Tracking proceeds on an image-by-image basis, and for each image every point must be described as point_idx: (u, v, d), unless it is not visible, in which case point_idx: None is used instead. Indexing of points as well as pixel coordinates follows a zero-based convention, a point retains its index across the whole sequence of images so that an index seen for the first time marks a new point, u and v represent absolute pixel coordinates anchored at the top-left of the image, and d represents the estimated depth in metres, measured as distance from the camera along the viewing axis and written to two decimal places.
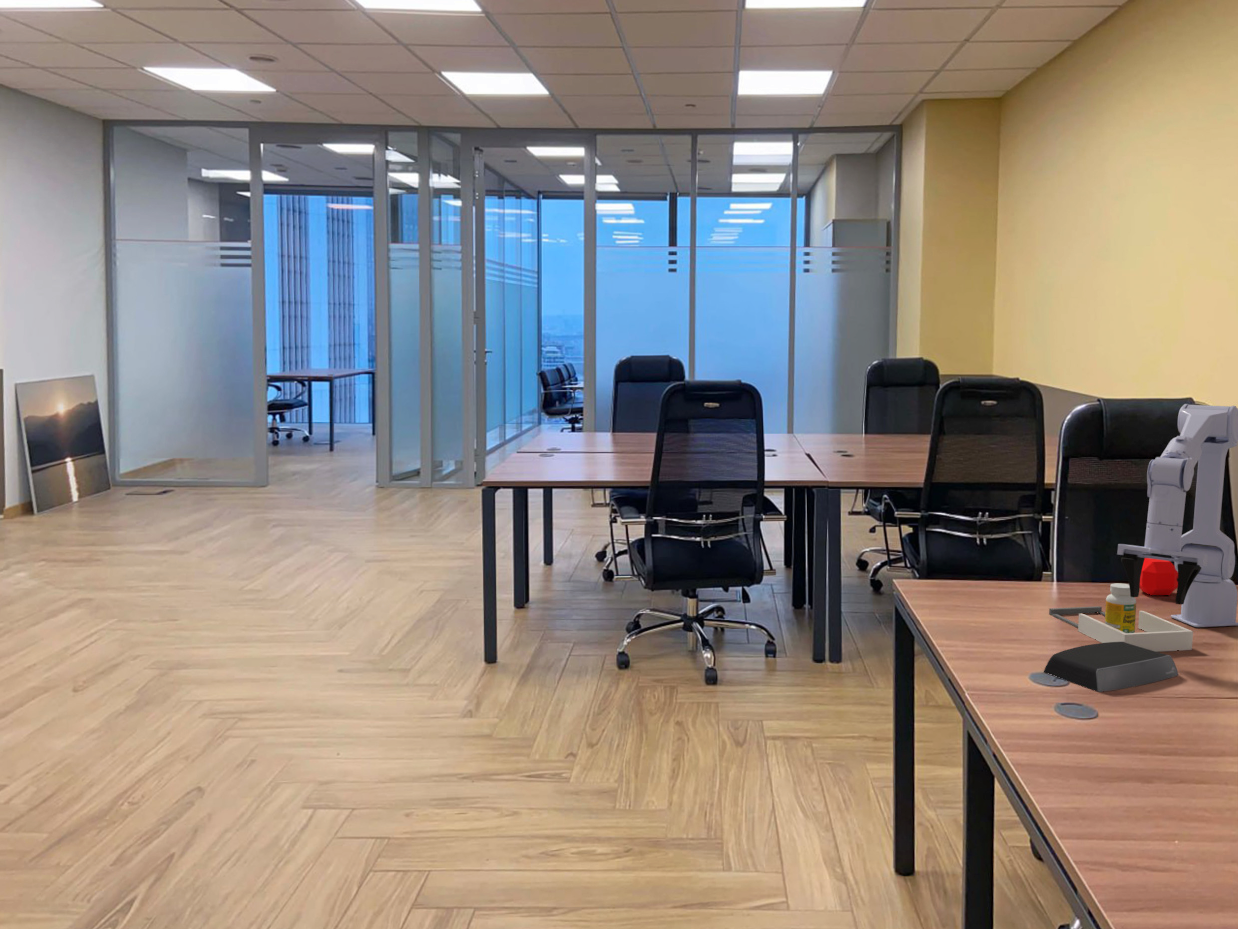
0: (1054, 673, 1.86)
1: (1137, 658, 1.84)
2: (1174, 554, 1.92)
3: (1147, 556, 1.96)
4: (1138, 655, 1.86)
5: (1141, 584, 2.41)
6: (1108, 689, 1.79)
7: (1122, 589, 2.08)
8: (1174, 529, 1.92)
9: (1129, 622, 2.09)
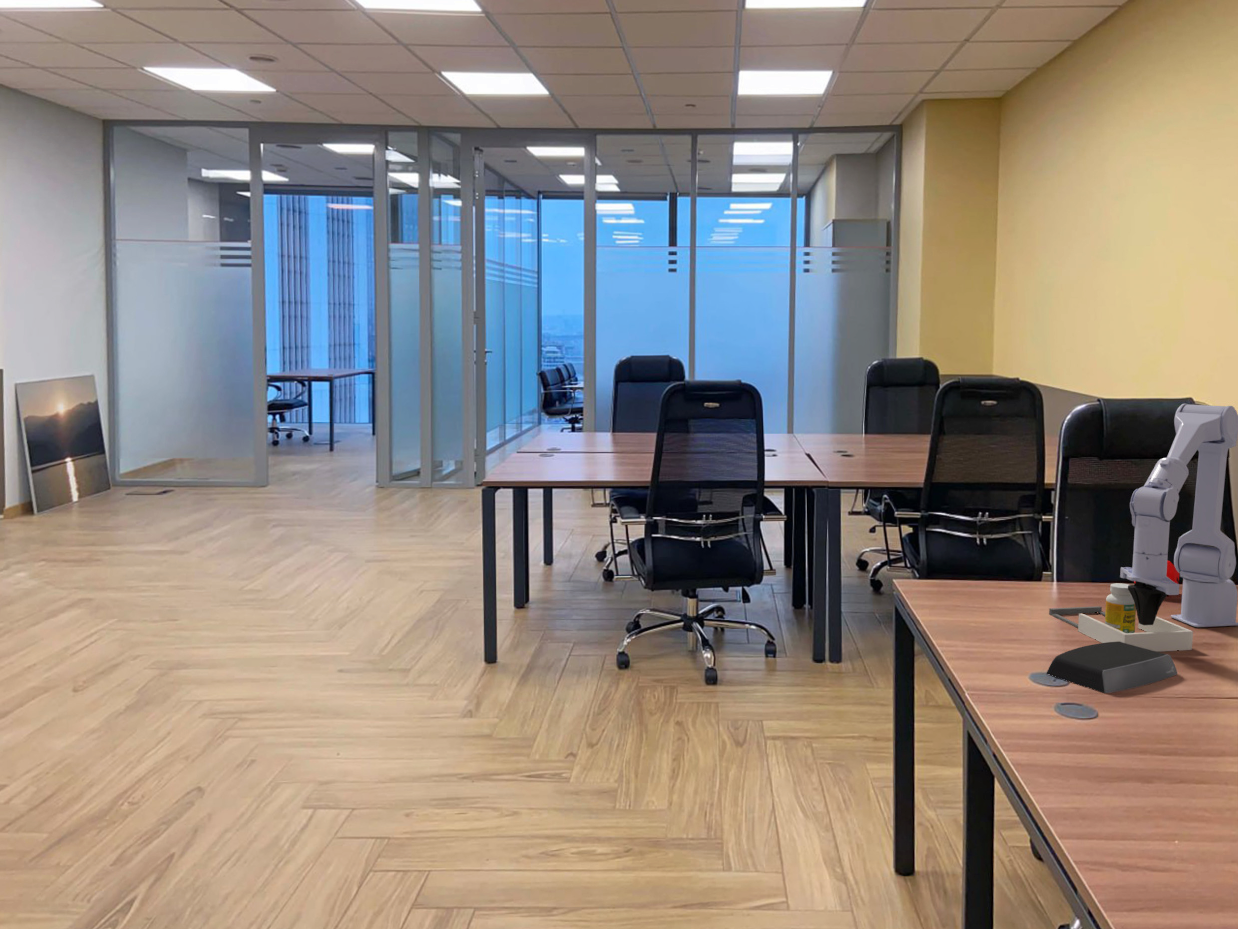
0: (1058, 675, 1.85)
1: (1139, 658, 1.85)
2: (1147, 582, 1.99)
3: (1139, 581, 2.04)
4: (1139, 655, 1.86)
5: None
6: (1114, 690, 1.78)
7: (1122, 589, 2.08)
8: (1149, 558, 1.99)
9: (1129, 622, 2.09)
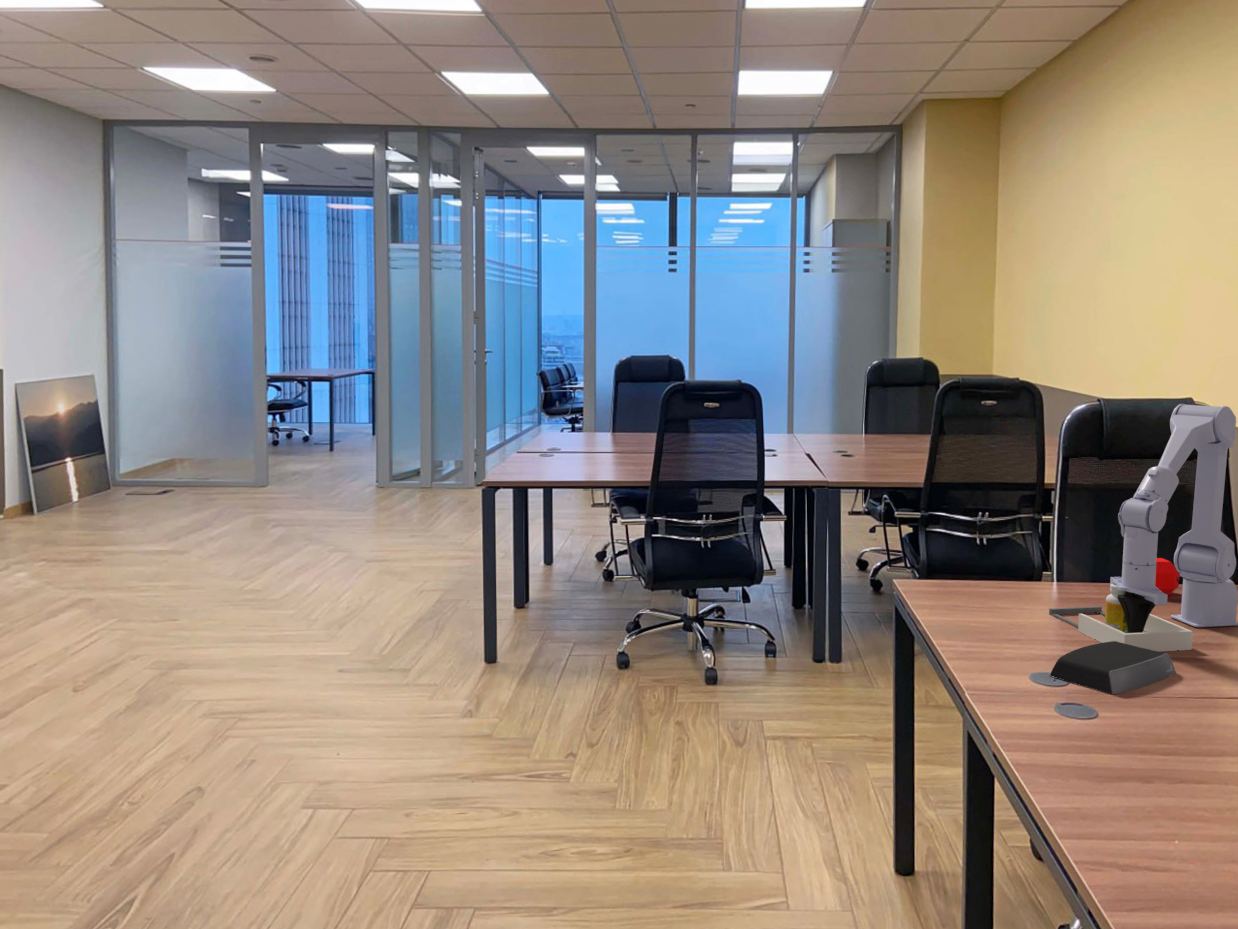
0: (1062, 677, 1.84)
1: (1140, 657, 1.85)
2: (1136, 592, 2.02)
3: None
4: (1139, 655, 1.86)
5: None
6: (1121, 691, 1.78)
7: None
8: (1138, 568, 2.02)
9: None
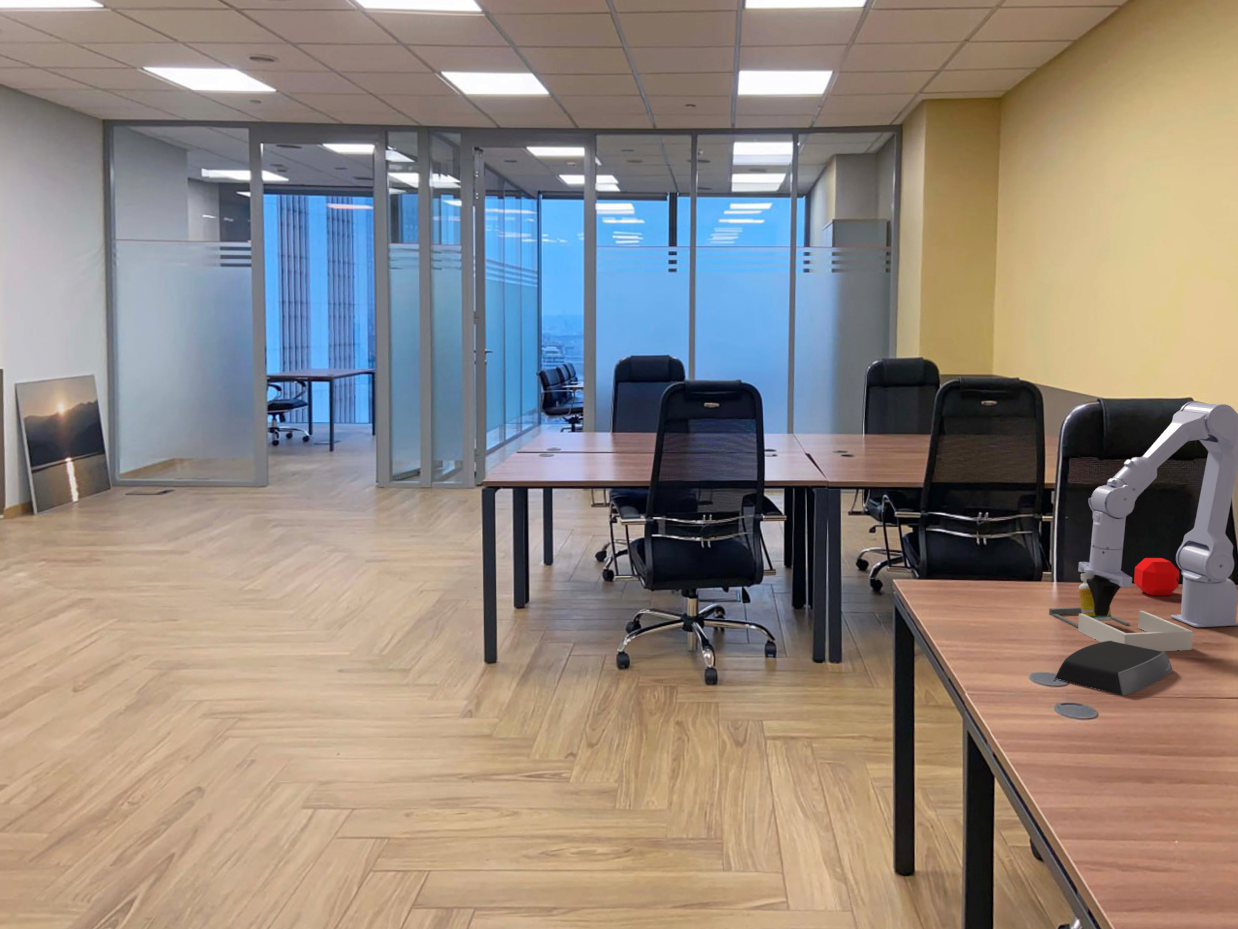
0: (1068, 679, 1.83)
1: (1142, 657, 1.85)
2: (1102, 575, 2.11)
3: (1095, 575, 2.17)
4: (1140, 654, 1.87)
5: (1141, 584, 2.41)
6: (1130, 692, 1.77)
7: (1089, 574, 2.18)
8: (1105, 552, 2.12)
9: None
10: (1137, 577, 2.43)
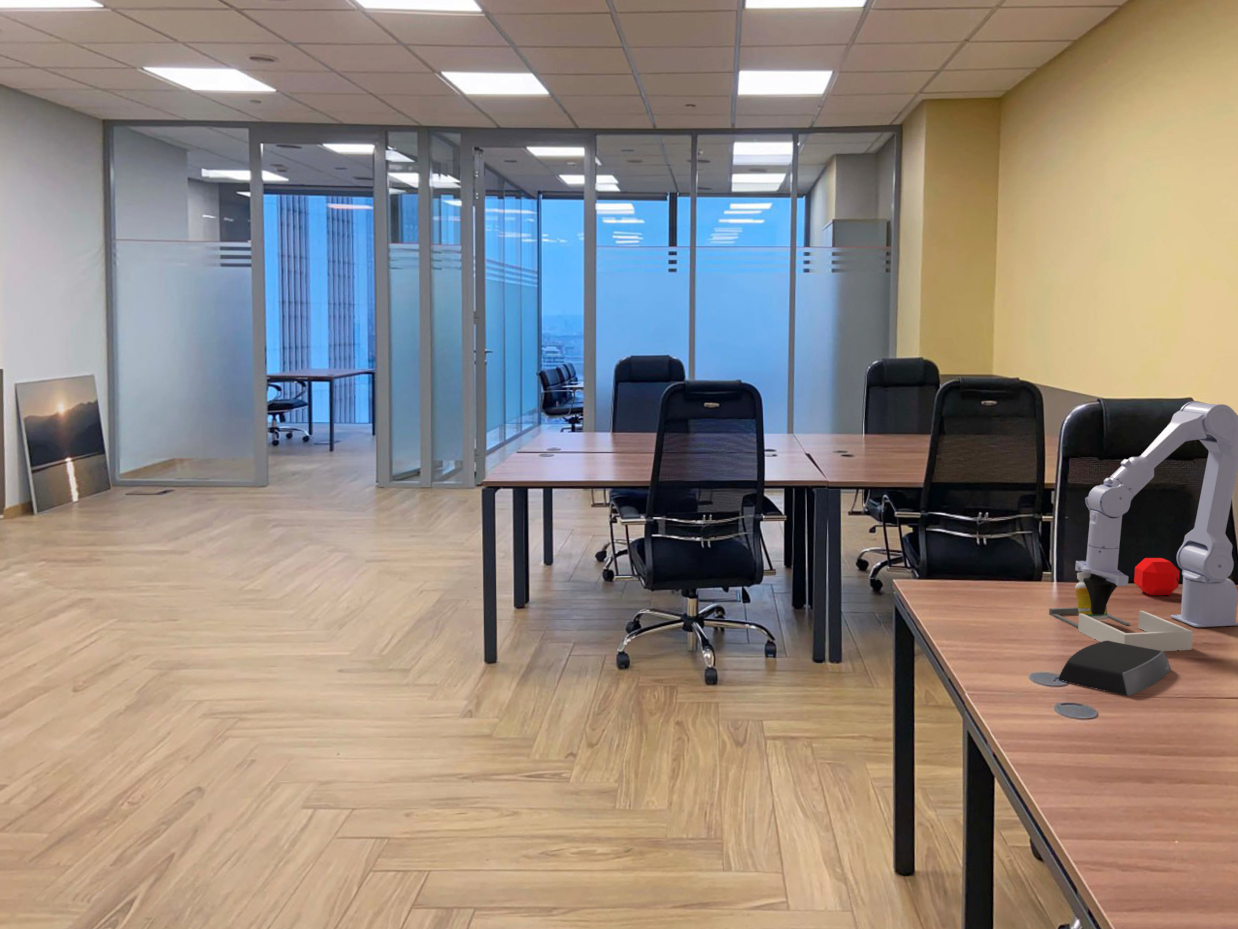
0: (1071, 680, 1.83)
1: (1143, 657, 1.85)
2: (1099, 574, 2.13)
3: (1092, 573, 2.18)
4: (1140, 654, 1.87)
5: (1141, 584, 2.41)
6: (1134, 692, 1.77)
7: (1086, 573, 2.19)
8: (1101, 551, 2.13)
9: None
10: (1137, 577, 2.43)
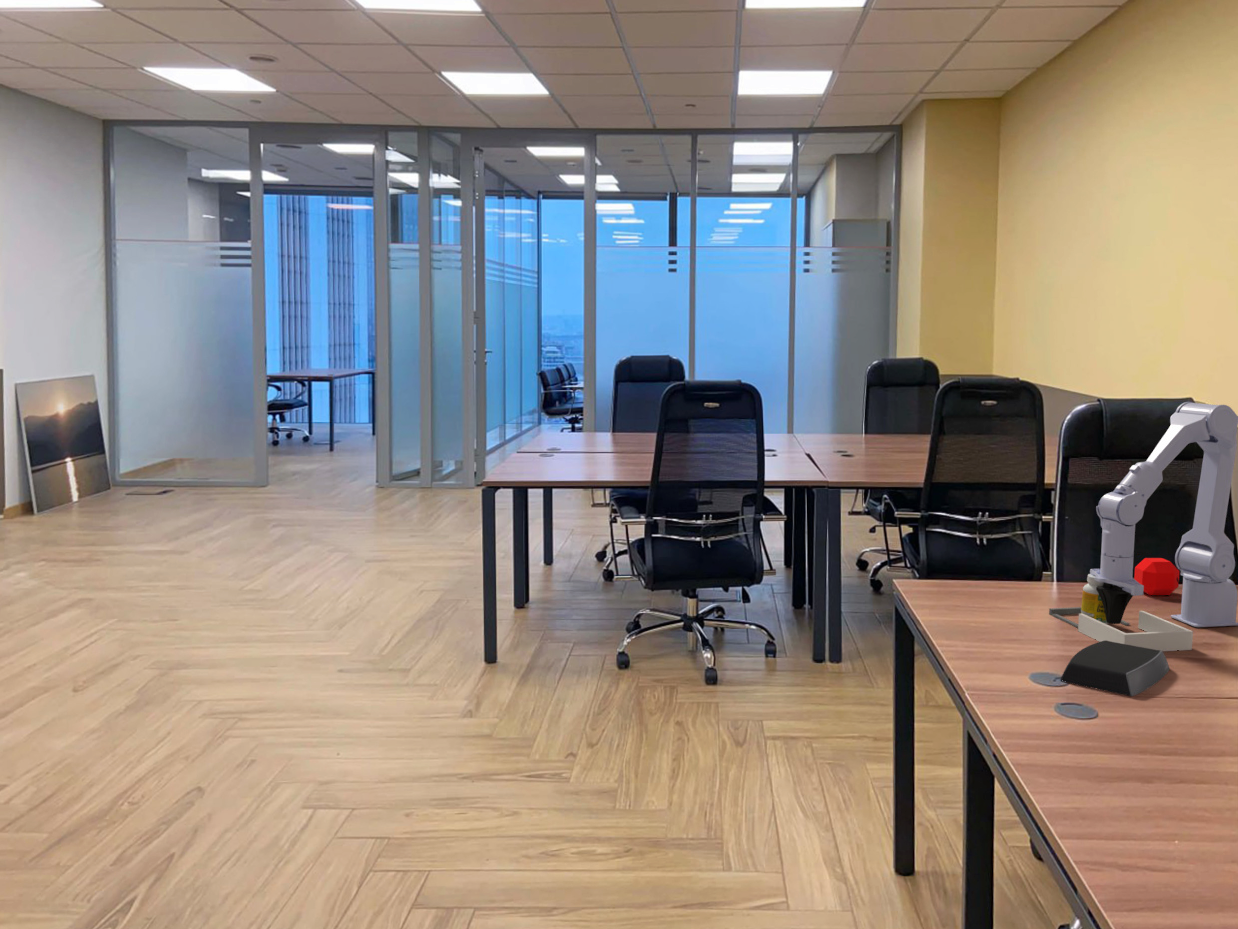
0: (1074, 681, 1.82)
1: (1143, 657, 1.85)
2: (1114, 583, 2.09)
3: (1107, 582, 2.14)
4: (1140, 654, 1.87)
5: (1141, 584, 2.41)
6: (1137, 692, 1.77)
7: None
8: (1115, 560, 2.09)
9: (1103, 612, 2.16)
10: (1137, 577, 2.43)
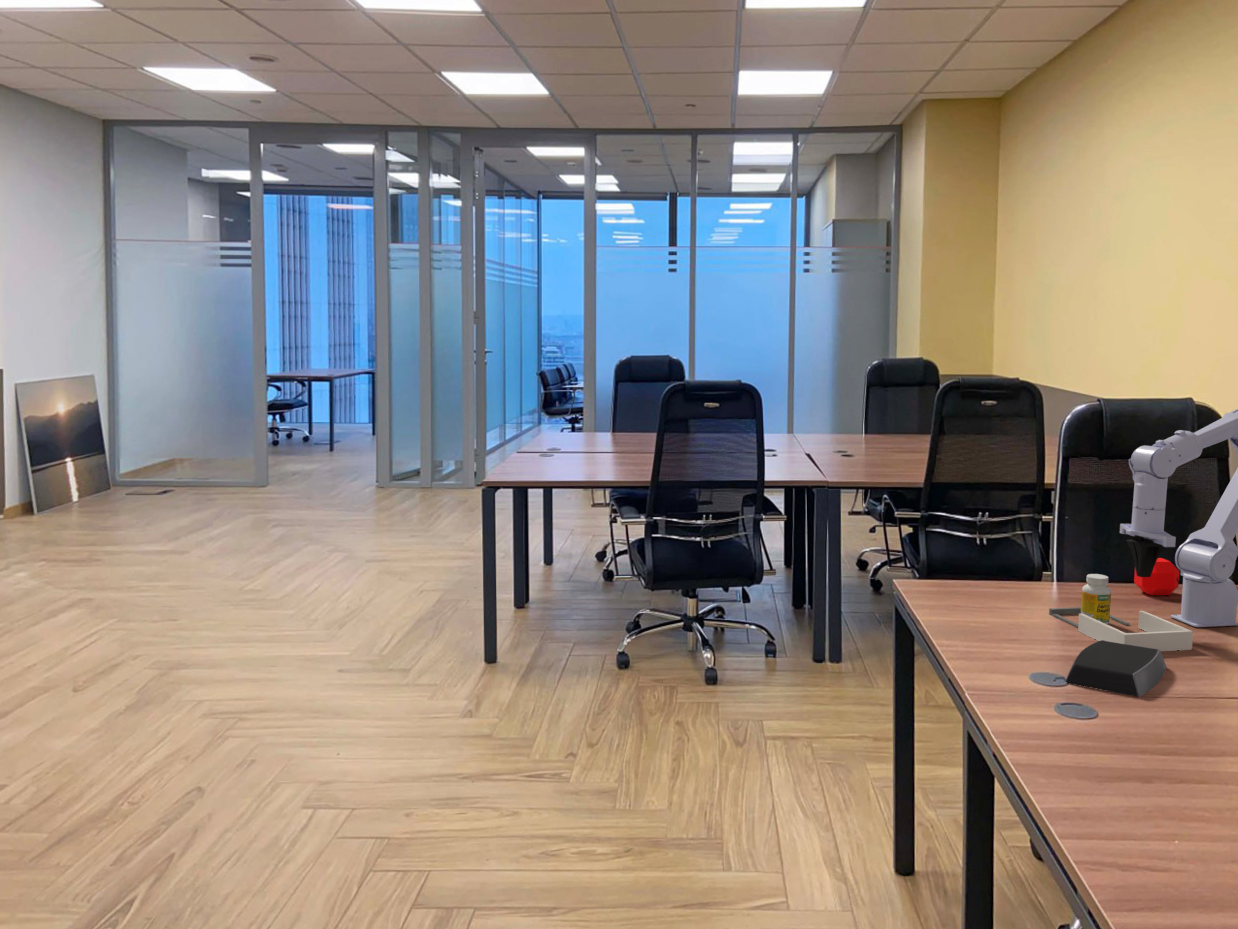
0: (1080, 683, 1.81)
1: (1144, 656, 1.85)
2: (1145, 535, 2.10)
3: (1138, 536, 2.15)
4: (1140, 653, 1.87)
5: (1141, 584, 2.41)
6: (1144, 692, 1.77)
7: (1097, 580, 2.16)
8: (1147, 512, 2.10)
9: (1103, 612, 2.16)
10: (1137, 577, 2.43)
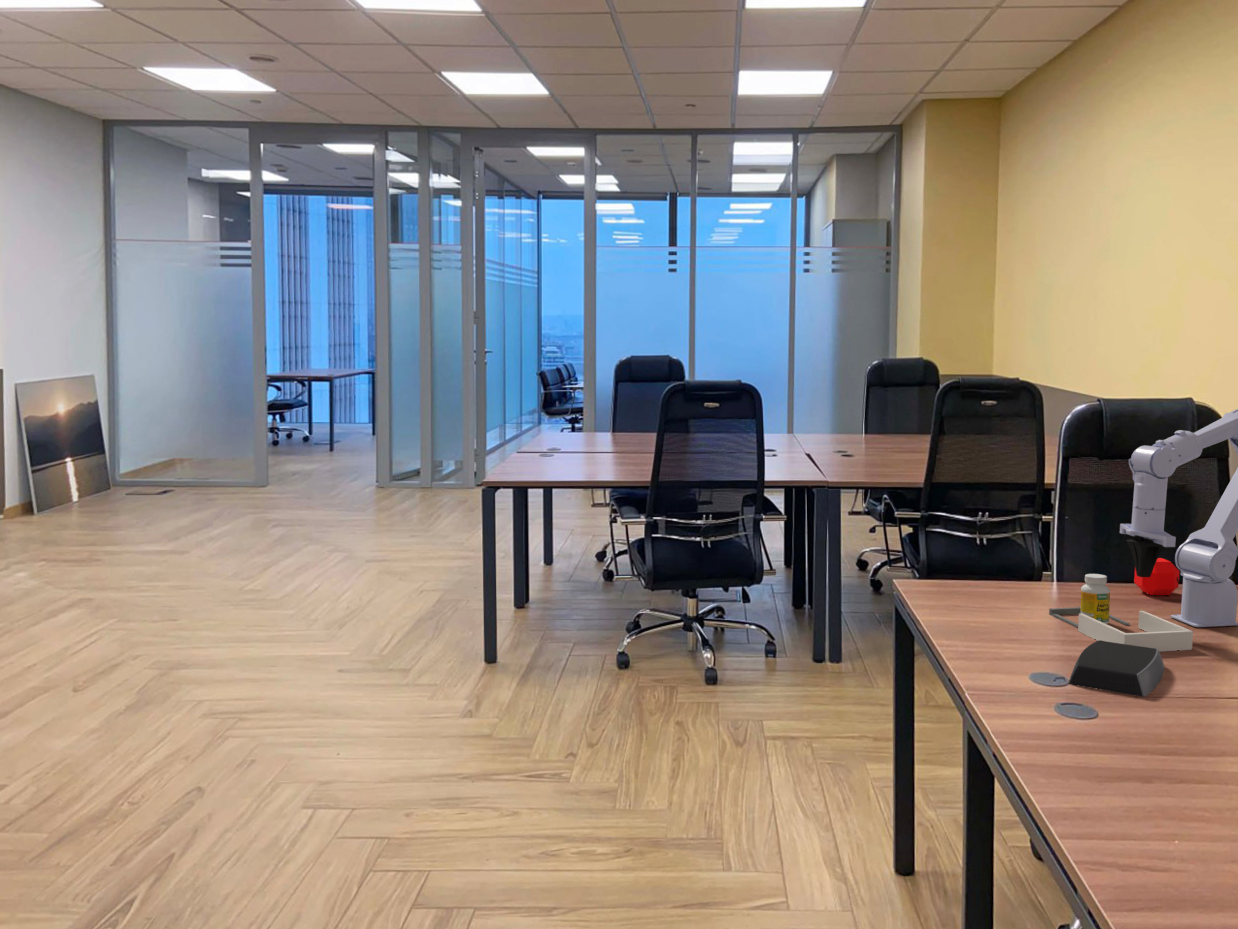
0: (1083, 684, 1.81)
1: (1144, 656, 1.86)
2: (1145, 535, 2.10)
3: (1138, 536, 2.15)
4: (1139, 653, 1.87)
5: (1141, 584, 2.41)
6: (1148, 692, 1.77)
7: (1095, 579, 2.16)
8: (1147, 512, 2.10)
9: (1102, 611, 2.16)
10: (1137, 577, 2.43)
